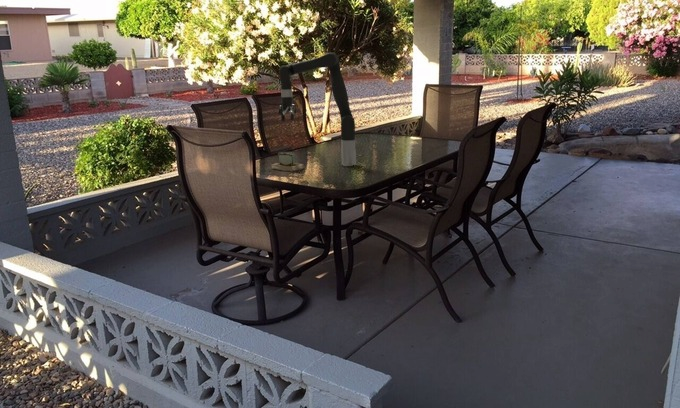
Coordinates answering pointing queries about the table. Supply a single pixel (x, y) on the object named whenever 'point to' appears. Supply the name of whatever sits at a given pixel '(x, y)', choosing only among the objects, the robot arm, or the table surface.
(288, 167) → the tray
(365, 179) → the table surface
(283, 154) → the food container
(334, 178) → the table surface
